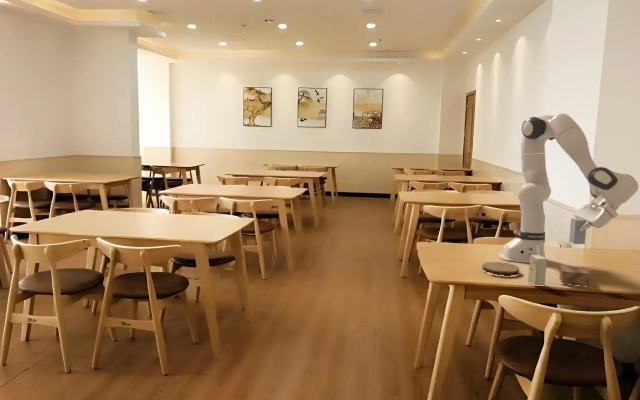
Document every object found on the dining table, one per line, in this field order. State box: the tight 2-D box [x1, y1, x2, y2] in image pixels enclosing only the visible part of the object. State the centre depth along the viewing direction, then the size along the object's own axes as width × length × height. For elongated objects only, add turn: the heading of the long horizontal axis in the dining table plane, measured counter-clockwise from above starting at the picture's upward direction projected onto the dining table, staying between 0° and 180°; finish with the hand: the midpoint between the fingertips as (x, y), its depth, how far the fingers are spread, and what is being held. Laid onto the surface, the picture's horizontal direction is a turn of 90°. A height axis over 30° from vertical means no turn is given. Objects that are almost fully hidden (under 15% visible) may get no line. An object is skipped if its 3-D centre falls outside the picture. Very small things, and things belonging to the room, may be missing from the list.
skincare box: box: [527, 255, 548, 286], centre depth 209 cm, size 6×4×12 cm
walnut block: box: [559, 265, 590, 287], centre depth 213 cm, size 10×10×6 cm
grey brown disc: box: [481, 261, 520, 276], centre depth 229 cm, size 16×16×3 cm
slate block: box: [568, 217, 587, 245], centre depth 211 cm, size 4×4×10 cm
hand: (576, 229), depth 211 cm, fingers closed on slate block, 4 cm apart
